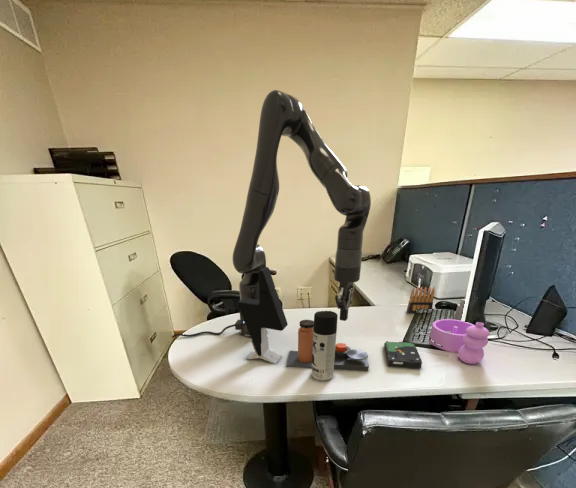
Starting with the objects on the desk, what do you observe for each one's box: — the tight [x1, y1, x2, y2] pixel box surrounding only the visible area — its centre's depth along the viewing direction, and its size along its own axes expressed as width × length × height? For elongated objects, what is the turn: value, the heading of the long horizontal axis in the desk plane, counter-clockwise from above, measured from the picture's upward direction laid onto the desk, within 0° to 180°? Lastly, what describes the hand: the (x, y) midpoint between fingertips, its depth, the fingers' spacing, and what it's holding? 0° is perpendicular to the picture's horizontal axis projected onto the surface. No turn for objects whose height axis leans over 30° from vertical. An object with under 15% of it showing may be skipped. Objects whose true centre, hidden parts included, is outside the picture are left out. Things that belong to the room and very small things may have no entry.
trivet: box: [286, 350, 312, 369], centre depth 109 cm, size 11×11×1 cm
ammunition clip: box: [406, 286, 436, 314], centre depth 145 cm, size 11×2×12 cm, turn 89°
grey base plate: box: [334, 345, 370, 372], centre depth 107 cm, size 14×11×4 cm
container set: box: [428, 318, 490, 365], centre depth 113 cm, size 25×15×13 cm, turn 179°
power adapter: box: [453, 293, 467, 321], centre depth 135 cm, size 3×5×12 cm, turn 81°
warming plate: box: [346, 349, 369, 360], centre depth 105 cm, size 7×7×1 cm
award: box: [236, 266, 288, 365], centre depth 104 cm, size 15×5×30 cm, turn 71°
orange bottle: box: [297, 319, 314, 363], centre depth 106 cm, size 6×6×13 cm
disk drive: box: [383, 340, 423, 369], centre depth 110 cm, size 10×3×15 cm
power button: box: [336, 342, 348, 352], centre depth 108 cm, size 4×4×2 cm
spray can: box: [311, 310, 338, 382], centre depth 96 cm, size 7×7×20 cm
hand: (343, 319), depth 104 cm, fingers closed
